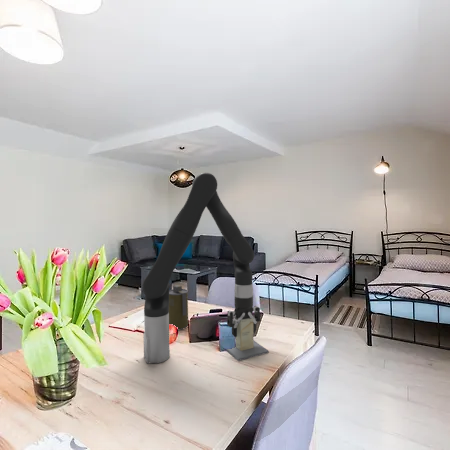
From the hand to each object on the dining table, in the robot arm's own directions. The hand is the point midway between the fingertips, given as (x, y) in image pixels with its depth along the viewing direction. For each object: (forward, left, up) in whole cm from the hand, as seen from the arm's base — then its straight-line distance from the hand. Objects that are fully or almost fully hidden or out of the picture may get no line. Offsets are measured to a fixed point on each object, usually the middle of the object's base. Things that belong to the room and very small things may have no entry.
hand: (244, 334), depth 118 cm
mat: (0, 0, -6) cm, 6 cm away
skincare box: (0, 0, -6) cm, 6 cm away
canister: (-16, +37, -6) cm, 41 cm away
